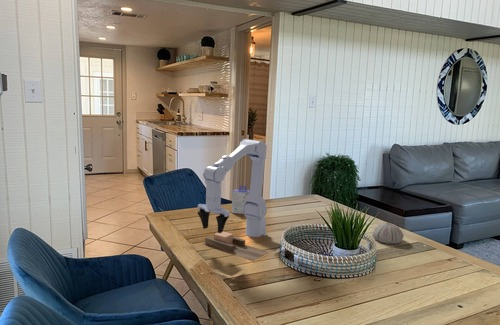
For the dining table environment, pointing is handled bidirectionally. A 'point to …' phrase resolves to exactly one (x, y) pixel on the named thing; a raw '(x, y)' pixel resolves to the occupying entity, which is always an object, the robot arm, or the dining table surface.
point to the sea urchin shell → (388, 233)
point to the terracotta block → (224, 237)
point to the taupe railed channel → (236, 248)
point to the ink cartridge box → (239, 199)
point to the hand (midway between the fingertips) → (212, 230)
